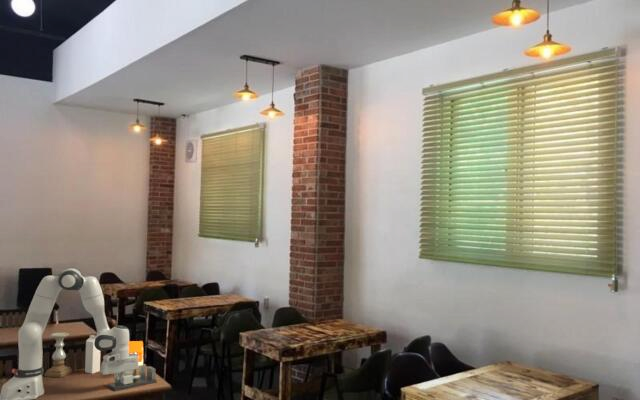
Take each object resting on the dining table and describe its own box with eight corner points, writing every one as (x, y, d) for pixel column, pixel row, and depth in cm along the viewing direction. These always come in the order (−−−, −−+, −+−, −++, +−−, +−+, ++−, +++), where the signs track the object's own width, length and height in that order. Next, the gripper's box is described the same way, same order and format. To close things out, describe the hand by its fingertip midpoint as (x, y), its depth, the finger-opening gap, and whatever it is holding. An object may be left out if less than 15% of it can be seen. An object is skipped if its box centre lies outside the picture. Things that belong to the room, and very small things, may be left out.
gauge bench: (114, 391, 294) (115, 375, 294) (107, 386, 302) (108, 370, 302) (156, 382, 310) (157, 367, 310) (148, 378, 318) (149, 363, 318)
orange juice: (127, 373, 326) (128, 339, 327) (142, 372, 328) (143, 339, 329) (125, 377, 319) (126, 343, 319) (141, 376, 320) (142, 342, 321)
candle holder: (61, 377, 315) (62, 336, 315) (44, 376, 316) (45, 335, 317) (72, 372, 326) (73, 332, 326) (55, 370, 327) (57, 331, 328)
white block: (123, 384, 299) (124, 377, 300) (119, 381, 304) (119, 374, 304) (141, 381, 306) (141, 374, 306) (136, 378, 311) (136, 371, 311)
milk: (92, 369, 331) (94, 333, 332) (100, 371, 329) (101, 334, 330) (84, 372, 326) (86, 335, 327) (92, 373, 323) (93, 336, 324)
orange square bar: (136, 379, 310) (136, 370, 310) (135, 378, 310) (135, 369, 311) (138, 378, 310) (138, 370, 310) (137, 378, 311) (137, 369, 311)
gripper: (136, 351, 310) (135, 375, 310) (100, 356, 296) (99, 381, 296) (140, 353, 305) (140, 377, 305) (104, 359, 292) (103, 384, 291)
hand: (119, 380), depth 300 cm, fingers closed
